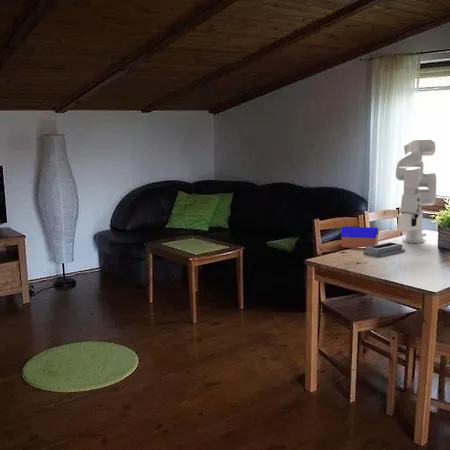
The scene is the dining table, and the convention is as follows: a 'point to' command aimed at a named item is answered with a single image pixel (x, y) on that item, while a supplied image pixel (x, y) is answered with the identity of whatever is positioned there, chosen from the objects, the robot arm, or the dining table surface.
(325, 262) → the dining table surface
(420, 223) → the white block
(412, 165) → the robot arm
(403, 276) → the dining table surface
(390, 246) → the grey holder tray
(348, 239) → the blue shipping container
